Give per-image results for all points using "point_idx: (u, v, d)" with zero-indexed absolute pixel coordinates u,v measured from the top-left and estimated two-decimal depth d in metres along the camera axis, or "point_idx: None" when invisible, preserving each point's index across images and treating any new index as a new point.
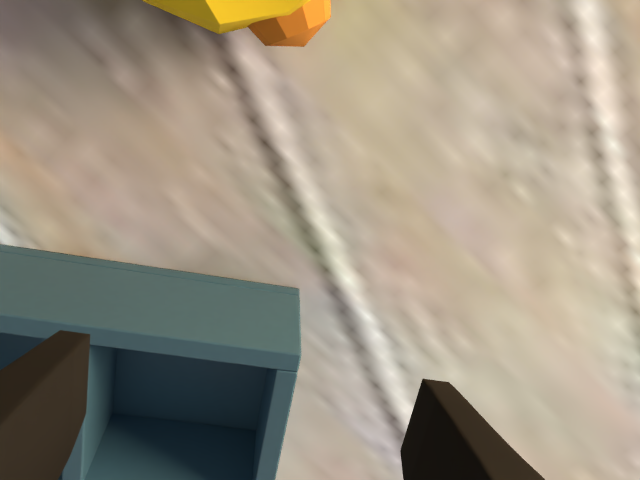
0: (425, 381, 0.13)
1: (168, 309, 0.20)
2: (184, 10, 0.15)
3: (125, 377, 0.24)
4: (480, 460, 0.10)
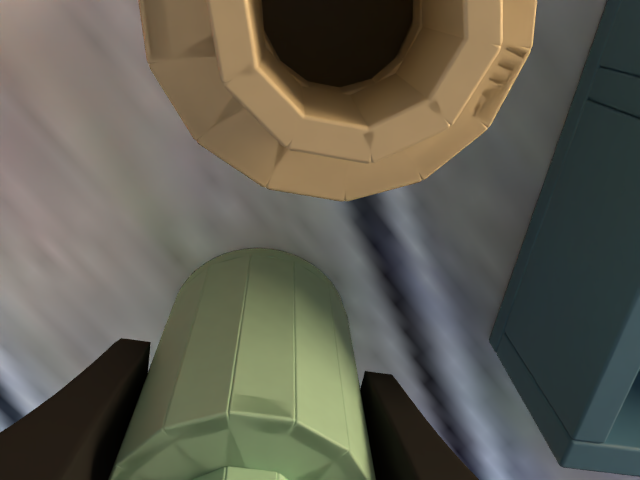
0: (367, 373, 0.12)
1: None
2: None
3: None
4: (406, 451, 0.10)
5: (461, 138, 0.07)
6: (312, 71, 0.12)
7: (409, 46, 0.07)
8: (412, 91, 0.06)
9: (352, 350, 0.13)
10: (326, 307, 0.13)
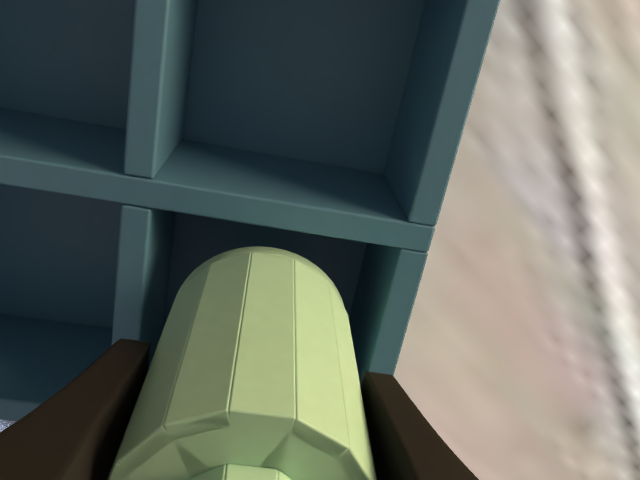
0: (367, 374, 0.12)
1: None
2: None
3: (204, 77, 0.16)
4: (406, 451, 0.10)
5: None
6: None
7: None
8: None
9: (352, 348, 0.13)
10: (326, 305, 0.13)
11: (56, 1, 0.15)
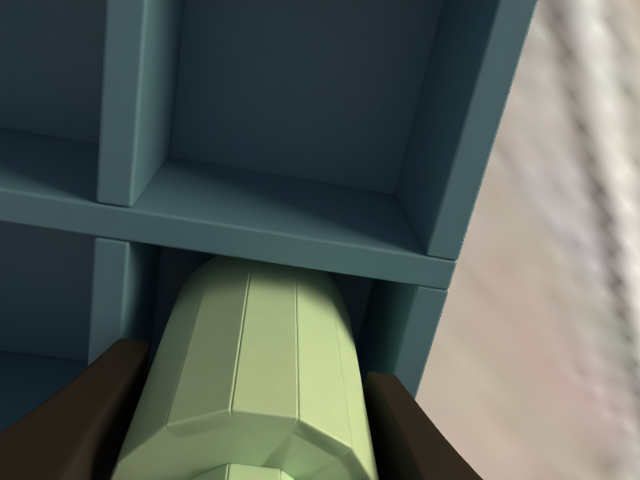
0: (370, 374, 0.13)
1: None
2: None
3: (193, 87, 0.14)
4: (410, 452, 0.10)
5: None
6: None
7: None
8: None
9: (354, 348, 0.13)
10: (328, 305, 0.13)
11: (24, 1, 0.14)
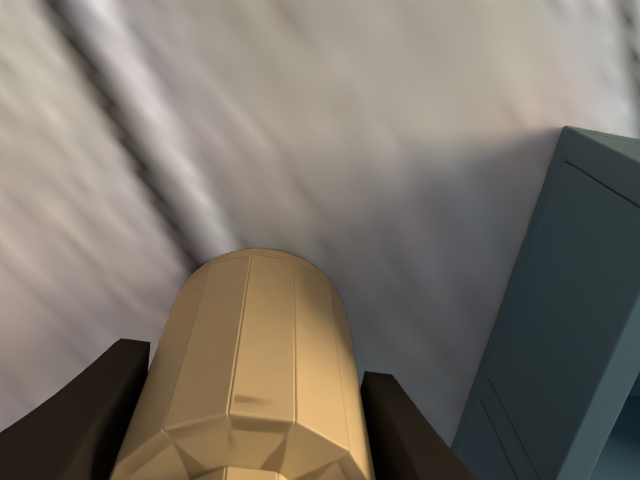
0: (367, 373, 0.12)
1: None
2: None
3: None
4: (406, 451, 0.10)
5: None
6: None
7: None
8: None
9: None
10: None
11: None
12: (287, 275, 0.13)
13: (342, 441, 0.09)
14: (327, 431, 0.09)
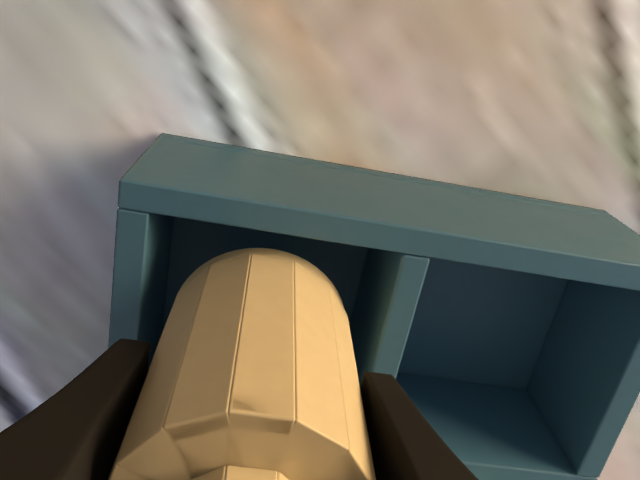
0: (367, 374, 0.12)
1: (501, 221, 0.16)
2: None
3: None
4: (406, 451, 0.10)
5: None
6: None
7: None
8: None
9: None
10: None
11: None
12: (287, 274, 0.13)
13: (342, 440, 0.09)
14: (327, 431, 0.09)
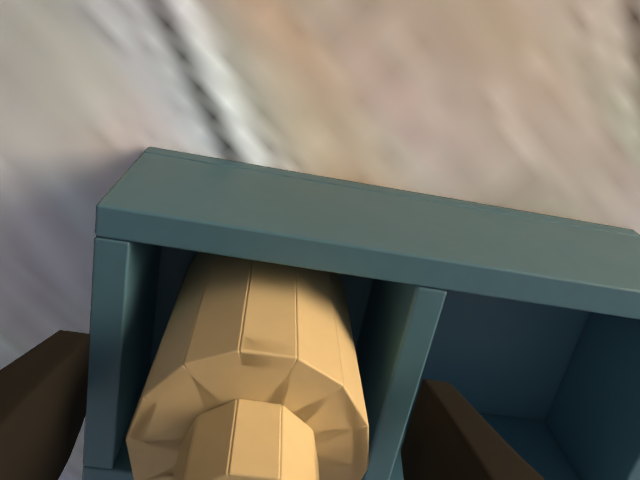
0: (425, 381, 0.13)
1: (524, 246, 0.14)
2: None
3: None
4: (480, 460, 0.10)
5: None
6: None
7: None
8: None
9: None
10: None
11: None
12: None
13: (337, 377, 0.11)
14: (324, 369, 0.11)
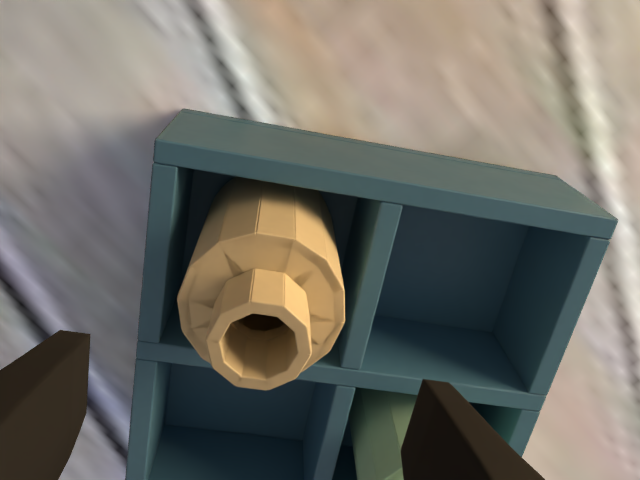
0: (425, 381, 0.13)
1: (463, 178, 0.19)
2: None
3: None
4: (480, 460, 0.10)
5: (317, 356, 0.17)
6: None
7: None
8: (284, 359, 0.15)
9: None
10: None
11: None
12: None
13: (322, 254, 0.16)
14: (313, 248, 0.16)
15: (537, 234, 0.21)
